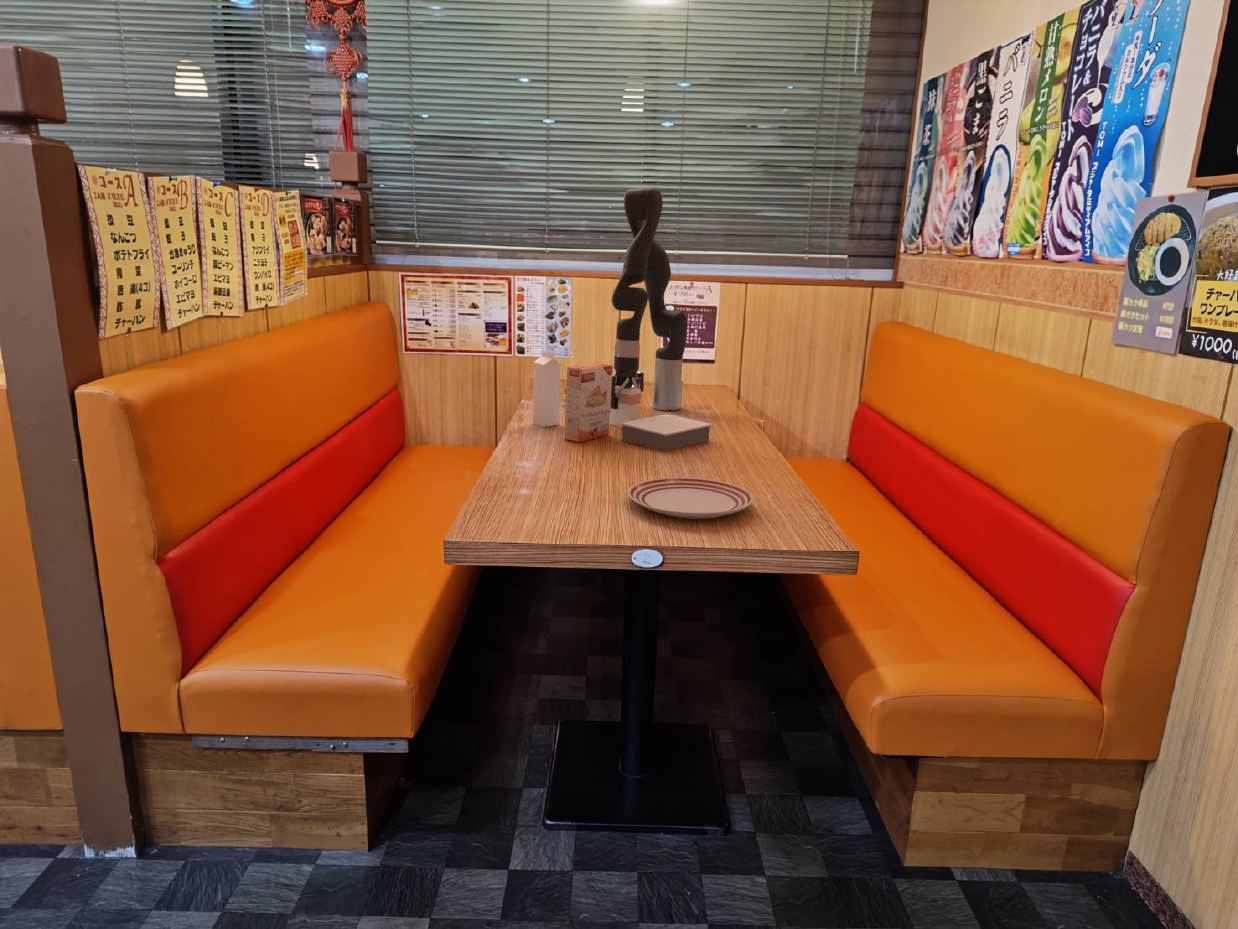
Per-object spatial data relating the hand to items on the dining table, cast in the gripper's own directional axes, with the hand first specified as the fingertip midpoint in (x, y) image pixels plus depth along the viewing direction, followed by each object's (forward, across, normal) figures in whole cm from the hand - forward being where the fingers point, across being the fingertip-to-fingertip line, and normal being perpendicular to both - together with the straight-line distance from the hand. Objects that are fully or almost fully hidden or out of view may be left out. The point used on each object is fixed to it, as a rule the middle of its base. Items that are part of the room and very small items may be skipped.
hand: (624, 407), depth 251 cm
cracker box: (+6, +20, +4) cm, 21 cm away
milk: (+6, +18, -16) cm, 25 cm away
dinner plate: (+7, +45, +62) cm, 77 cm away
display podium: (+6, +4, +20) cm, 21 cm away
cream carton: (+6, 0, 0) cm, 6 cm away
